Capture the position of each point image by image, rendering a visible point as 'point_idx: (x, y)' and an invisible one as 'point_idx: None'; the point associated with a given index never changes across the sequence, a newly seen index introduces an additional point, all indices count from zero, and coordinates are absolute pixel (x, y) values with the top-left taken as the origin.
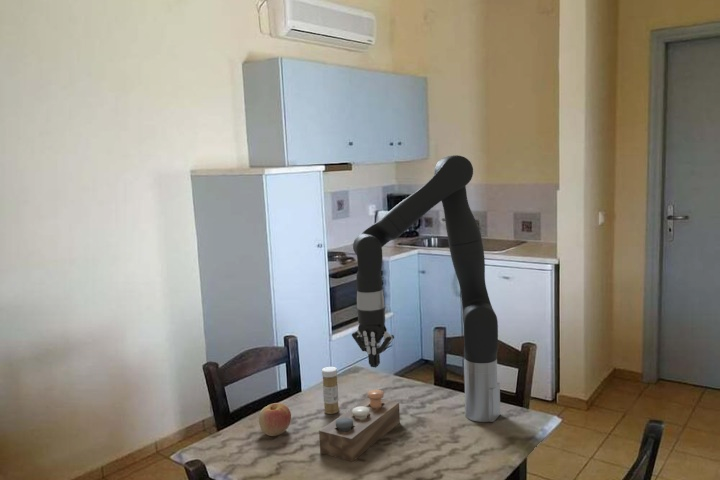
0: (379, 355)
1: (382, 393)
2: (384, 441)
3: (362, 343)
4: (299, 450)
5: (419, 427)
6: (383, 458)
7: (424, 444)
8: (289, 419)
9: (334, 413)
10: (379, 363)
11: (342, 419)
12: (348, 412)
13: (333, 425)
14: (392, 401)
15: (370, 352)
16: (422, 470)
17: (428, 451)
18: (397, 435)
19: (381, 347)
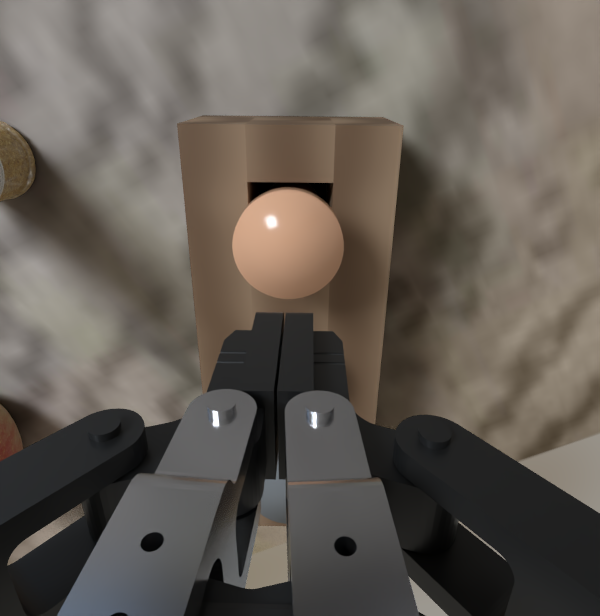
0: (348, 394)
1: (339, 240)
2: (394, 311)
3: (59, 598)
4: None
5: (496, 124)
6: (442, 411)
7: (560, 266)
8: (3, 446)
9: (33, 179)
10: (337, 340)
11: (270, 486)
12: (212, 360)
13: None
14: (357, 130)
15: (258, 510)
16: (593, 420)
17: (588, 308)
18: (424, 244)
19: (476, 607)
